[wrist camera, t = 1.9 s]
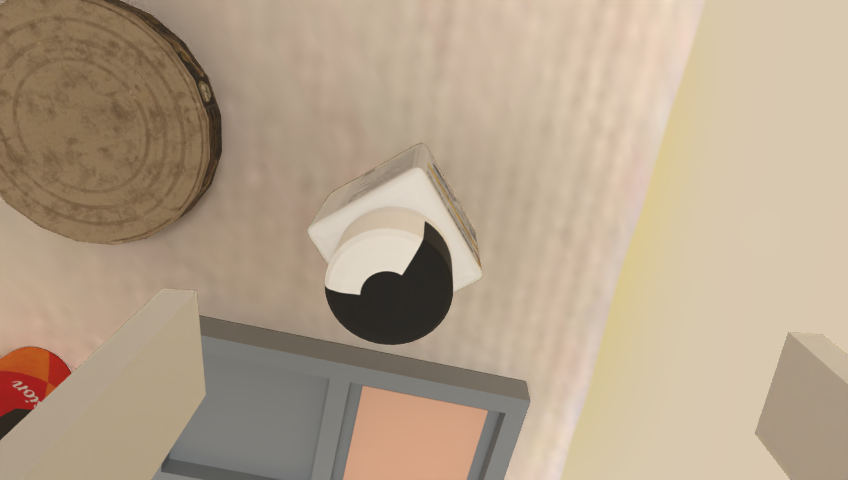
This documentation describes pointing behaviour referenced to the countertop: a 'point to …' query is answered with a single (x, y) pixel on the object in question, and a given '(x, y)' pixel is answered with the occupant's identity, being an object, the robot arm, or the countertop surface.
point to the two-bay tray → (340, 414)
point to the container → (395, 249)
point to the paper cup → (29, 378)
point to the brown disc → (101, 120)
